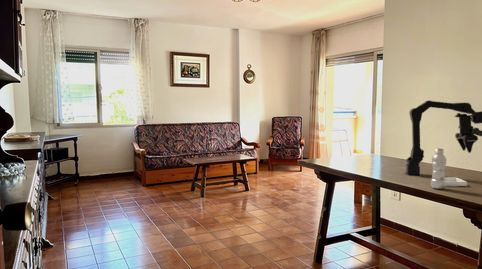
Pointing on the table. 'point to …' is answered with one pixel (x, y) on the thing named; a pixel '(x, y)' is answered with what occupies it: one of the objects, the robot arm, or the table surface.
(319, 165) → the table surface
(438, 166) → the plastic bottle
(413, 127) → the robot arm
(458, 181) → the tray
